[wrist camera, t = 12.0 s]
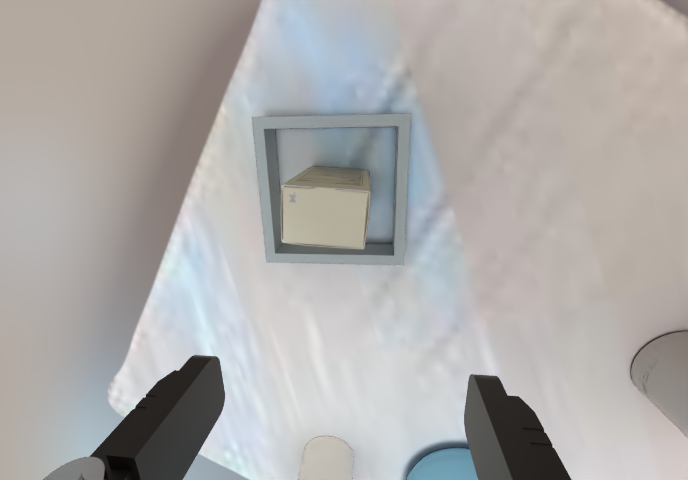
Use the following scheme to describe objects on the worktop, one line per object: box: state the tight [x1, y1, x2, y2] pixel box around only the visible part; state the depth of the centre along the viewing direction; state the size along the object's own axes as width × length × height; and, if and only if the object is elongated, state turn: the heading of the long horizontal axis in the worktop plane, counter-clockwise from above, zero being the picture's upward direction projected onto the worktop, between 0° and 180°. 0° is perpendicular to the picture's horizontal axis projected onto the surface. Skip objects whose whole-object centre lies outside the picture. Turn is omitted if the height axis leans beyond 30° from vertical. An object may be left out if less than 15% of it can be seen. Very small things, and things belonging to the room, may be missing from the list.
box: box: [252, 114, 411, 265], centre depth 32 cm, size 14×14×4 cm
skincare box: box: [281, 167, 371, 249], centre depth 28 cm, size 6×4×12 cm
